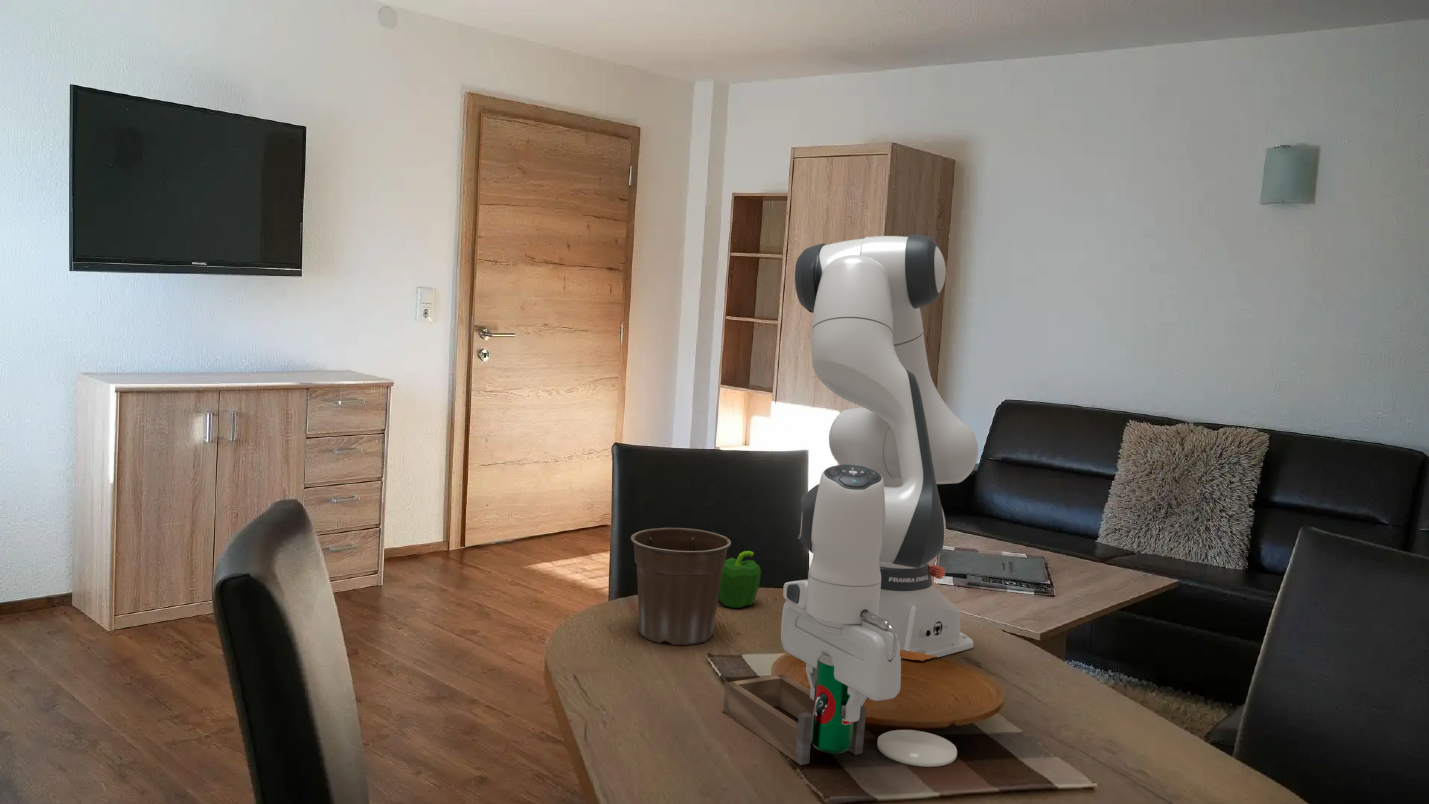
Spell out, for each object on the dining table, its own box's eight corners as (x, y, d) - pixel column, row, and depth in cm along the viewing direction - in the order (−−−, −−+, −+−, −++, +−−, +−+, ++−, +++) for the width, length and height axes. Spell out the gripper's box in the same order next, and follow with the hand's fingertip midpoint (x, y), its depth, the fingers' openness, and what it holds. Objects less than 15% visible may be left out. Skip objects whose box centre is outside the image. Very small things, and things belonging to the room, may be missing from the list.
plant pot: (666, 657, 171) (673, 554, 170) (605, 628, 183) (611, 532, 182) (744, 640, 182) (751, 544, 180) (682, 615, 194) (687, 524, 192)
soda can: (849, 758, 134) (857, 661, 133) (807, 751, 135) (815, 656, 134) (853, 742, 139) (861, 649, 138) (812, 736, 140) (820, 643, 139)
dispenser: (781, 702, 155) (784, 660, 155) (862, 753, 140) (866, 707, 139) (723, 711, 151) (726, 668, 150) (800, 765, 135) (804, 717, 134)
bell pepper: (707, 607, 199) (711, 553, 198) (717, 596, 207) (721, 543, 206) (753, 613, 198) (757, 558, 197) (762, 601, 206) (765, 548, 205)
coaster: (920, 729, 149) (921, 725, 148) (973, 759, 140) (973, 754, 140) (861, 740, 143) (861, 736, 143) (912, 772, 135) (912, 767, 135)
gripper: (918, 622, 128) (908, 738, 129) (816, 577, 145) (808, 680, 147) (875, 627, 125) (865, 746, 126) (775, 580, 142) (768, 685, 144)
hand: (833, 710), depth 137 cm, fingers closed on soda can, 5 cm apart
